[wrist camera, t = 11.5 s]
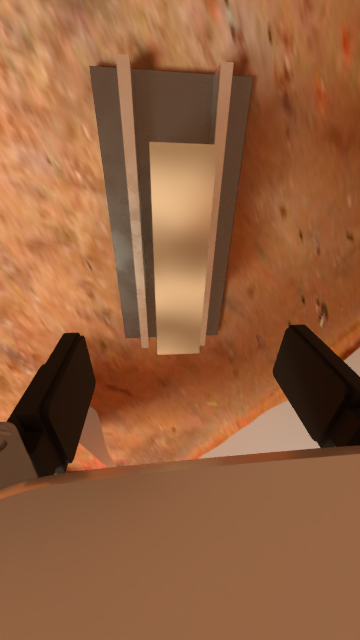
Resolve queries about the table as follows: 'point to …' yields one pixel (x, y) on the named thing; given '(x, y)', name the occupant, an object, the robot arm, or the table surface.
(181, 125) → the door track
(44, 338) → the table surface
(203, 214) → the door panel
